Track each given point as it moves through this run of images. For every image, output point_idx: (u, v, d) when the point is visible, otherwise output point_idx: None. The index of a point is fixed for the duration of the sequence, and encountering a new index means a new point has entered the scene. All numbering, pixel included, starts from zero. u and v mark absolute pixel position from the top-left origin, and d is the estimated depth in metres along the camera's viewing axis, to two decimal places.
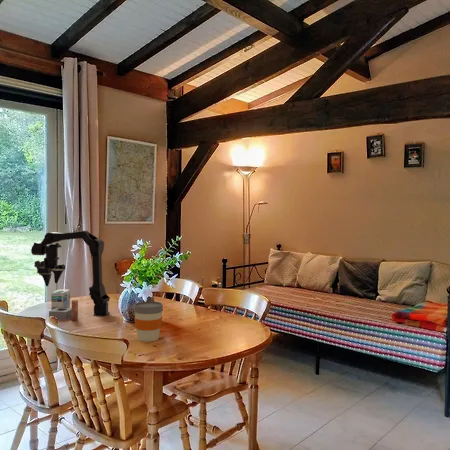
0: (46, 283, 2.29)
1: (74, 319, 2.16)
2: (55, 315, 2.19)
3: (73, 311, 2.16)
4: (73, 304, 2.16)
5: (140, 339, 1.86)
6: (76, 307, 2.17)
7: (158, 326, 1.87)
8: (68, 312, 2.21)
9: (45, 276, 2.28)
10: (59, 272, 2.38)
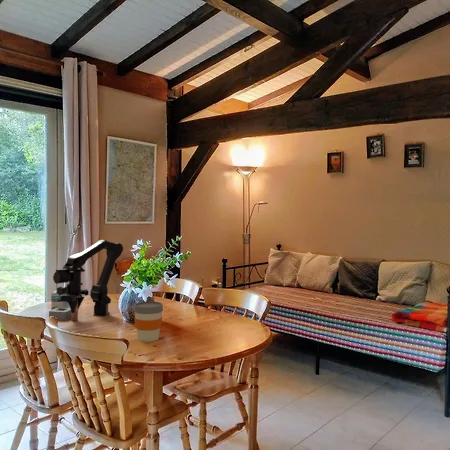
0: (72, 310, 2.15)
1: (74, 319, 2.16)
2: (55, 315, 2.19)
3: None
4: None
5: (140, 339, 1.86)
6: (76, 307, 2.17)
7: (158, 326, 1.87)
8: (68, 312, 2.21)
9: (71, 302, 2.15)
10: (79, 299, 2.19)
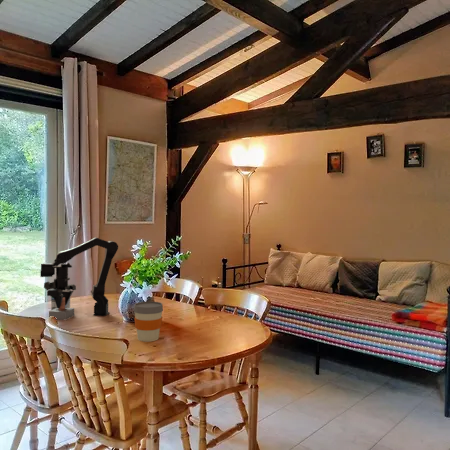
0: (57, 305, 2.19)
1: None
2: (55, 315, 2.19)
3: (60, 308, 2.21)
4: None
5: (140, 339, 1.86)
6: (63, 304, 2.22)
7: (158, 326, 1.87)
8: (68, 312, 2.21)
9: (57, 298, 2.18)
10: (68, 293, 2.26)
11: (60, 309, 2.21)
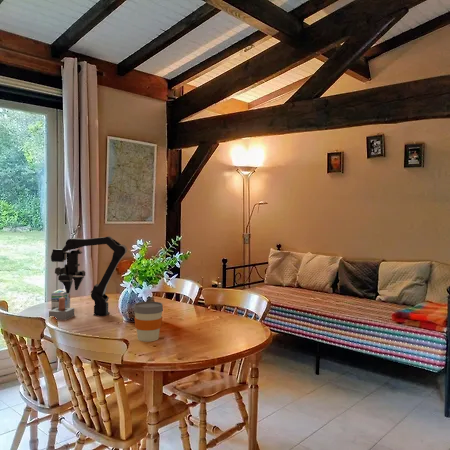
0: (66, 290, 2.24)
1: None
2: (55, 315, 2.19)
3: (60, 308, 2.21)
4: (60, 301, 2.21)
5: (140, 339, 1.86)
6: (63, 304, 2.22)
7: (158, 326, 1.87)
8: (68, 312, 2.21)
9: (66, 283, 2.23)
10: (79, 279, 2.34)
11: (60, 309, 2.21)
